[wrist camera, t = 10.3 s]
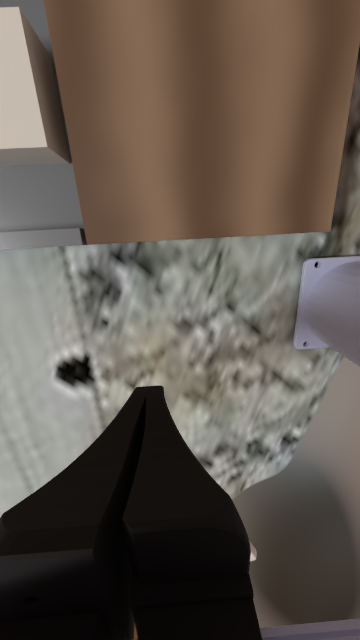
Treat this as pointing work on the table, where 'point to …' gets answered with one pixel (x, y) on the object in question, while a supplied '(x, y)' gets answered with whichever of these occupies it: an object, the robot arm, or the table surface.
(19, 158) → the cream tile
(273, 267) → the table surface
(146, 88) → the brown wooden board
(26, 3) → the tray
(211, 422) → the table surface
